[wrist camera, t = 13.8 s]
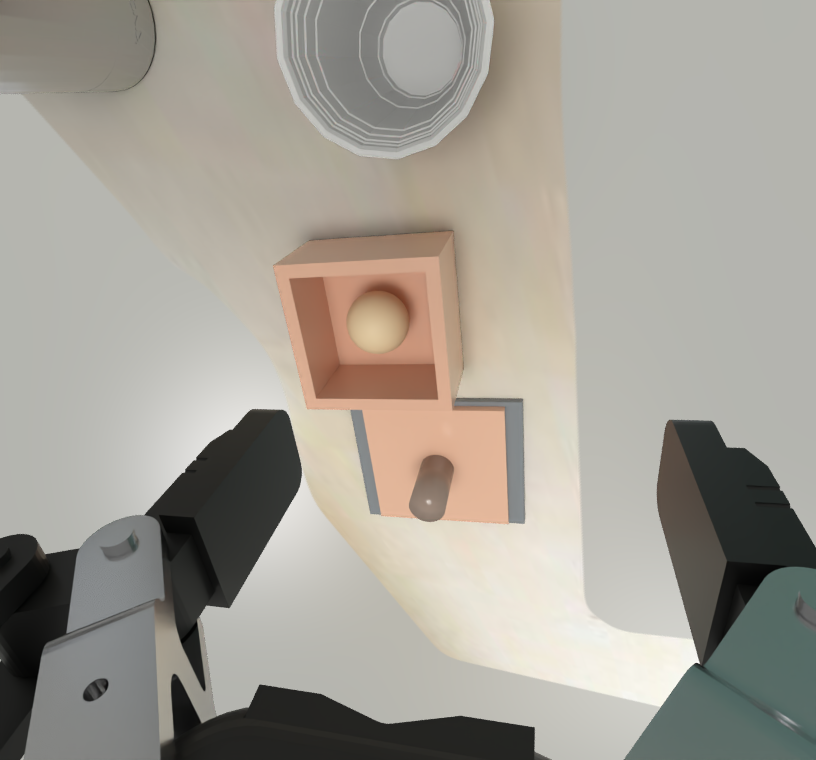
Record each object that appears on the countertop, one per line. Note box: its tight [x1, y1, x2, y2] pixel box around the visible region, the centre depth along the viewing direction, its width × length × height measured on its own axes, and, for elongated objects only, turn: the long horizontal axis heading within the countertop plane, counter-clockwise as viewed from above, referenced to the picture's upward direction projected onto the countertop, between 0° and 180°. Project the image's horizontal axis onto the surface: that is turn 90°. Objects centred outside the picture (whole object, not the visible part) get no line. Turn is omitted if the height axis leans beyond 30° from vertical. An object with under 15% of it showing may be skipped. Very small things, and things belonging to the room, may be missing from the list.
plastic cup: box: [274, 0, 494, 159], centre depth 31 cm, size 11×11×12 cm
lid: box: [362, 406, 509, 524], centre depth 49 cm, size 13×13×6 cm
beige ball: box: [346, 291, 409, 354], centre depth 42 cm, size 5×5×5 cm
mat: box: [351, 398, 525, 524], centre depth 52 cm, size 16×14×1 cm
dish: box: [273, 231, 464, 411], centre depth 42 cm, size 12×12×7 cm
